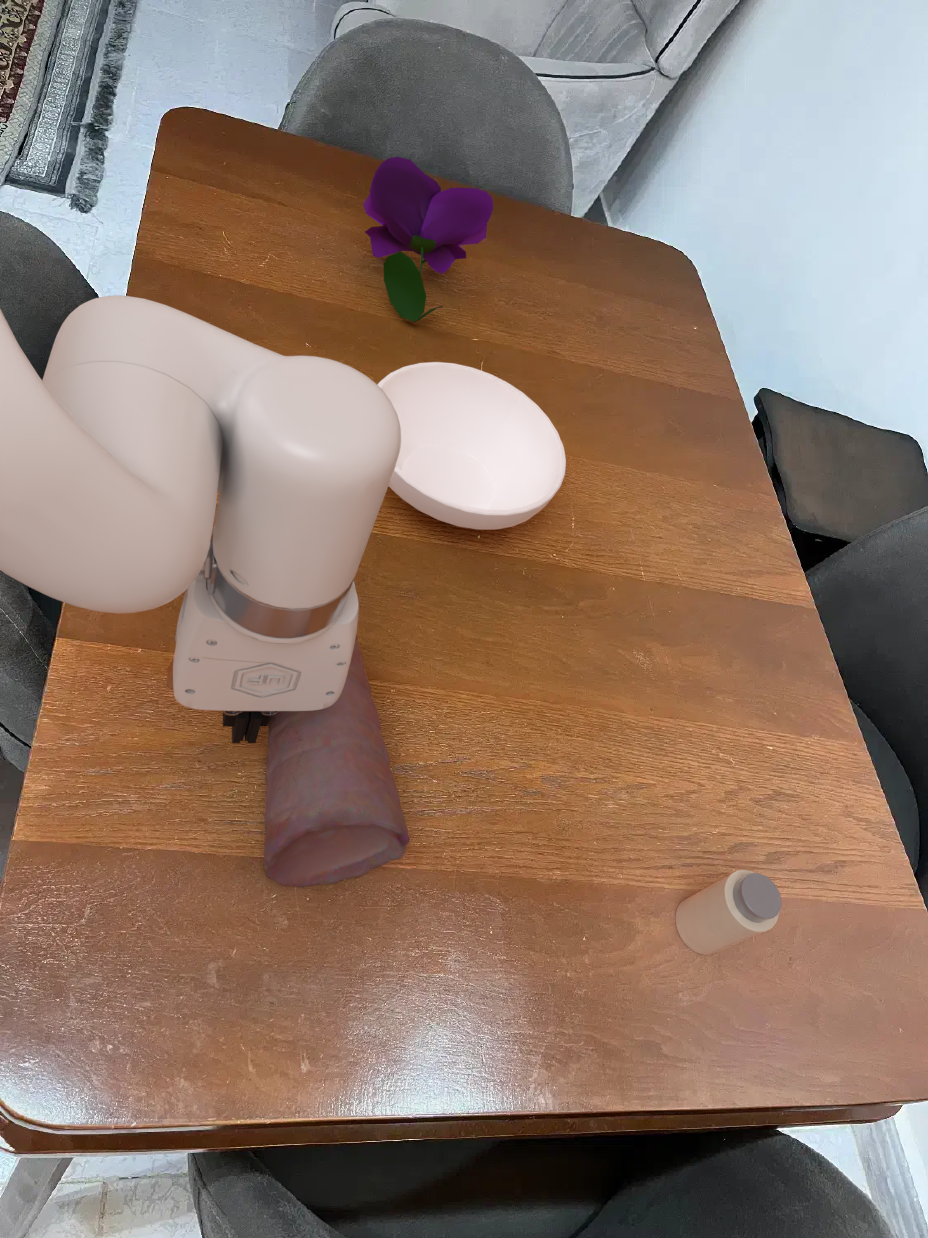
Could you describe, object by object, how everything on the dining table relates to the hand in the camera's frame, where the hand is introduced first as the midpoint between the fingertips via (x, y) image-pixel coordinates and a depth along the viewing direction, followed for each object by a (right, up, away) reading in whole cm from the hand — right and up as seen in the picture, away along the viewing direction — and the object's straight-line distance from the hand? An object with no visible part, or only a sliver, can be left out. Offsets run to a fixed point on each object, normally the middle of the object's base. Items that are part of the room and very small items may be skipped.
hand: (243, 724), depth 59 cm
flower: (+9, +46, +40) cm, 62 cm away
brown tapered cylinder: (+5, -3, +5) cm, 7 cm away
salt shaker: (+34, -17, +6) cm, 38 cm away
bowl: (+14, +21, +25) cm, 35 cm away
